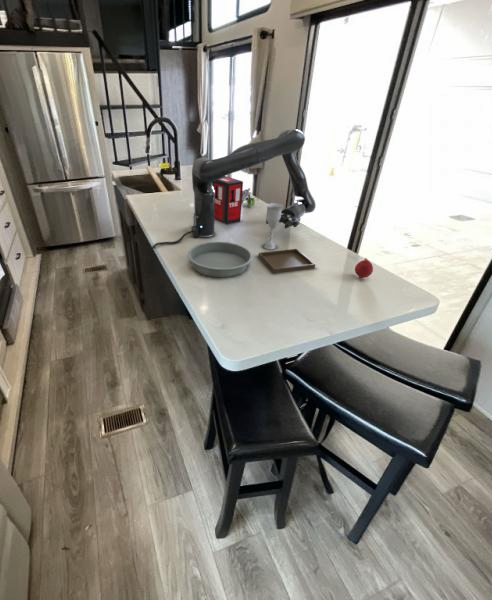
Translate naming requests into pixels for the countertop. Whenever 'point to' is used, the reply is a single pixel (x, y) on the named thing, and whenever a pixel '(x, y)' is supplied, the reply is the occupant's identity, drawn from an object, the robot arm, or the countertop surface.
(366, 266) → the onion
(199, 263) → the cake pan
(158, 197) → the countertop surface
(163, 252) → the countertop surface
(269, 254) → the tray
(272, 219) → the chalice
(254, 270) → the countertop surface
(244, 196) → the passion flower
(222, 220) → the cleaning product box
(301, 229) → the countertop surface
